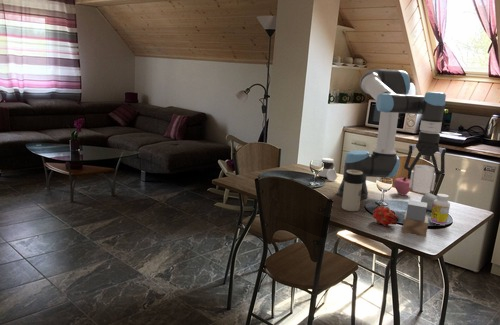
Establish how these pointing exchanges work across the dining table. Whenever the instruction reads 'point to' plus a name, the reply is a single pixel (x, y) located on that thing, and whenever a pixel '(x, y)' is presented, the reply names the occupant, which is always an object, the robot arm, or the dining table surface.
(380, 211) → the dragon fruit
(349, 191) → the travel mug
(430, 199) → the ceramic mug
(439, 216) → the supplement bottle
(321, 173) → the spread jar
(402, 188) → the apple
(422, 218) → the gray block
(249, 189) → the dining table surface
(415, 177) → the white cup
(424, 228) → the walnut base block
